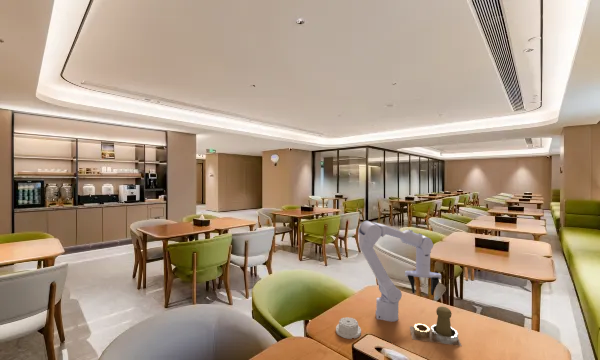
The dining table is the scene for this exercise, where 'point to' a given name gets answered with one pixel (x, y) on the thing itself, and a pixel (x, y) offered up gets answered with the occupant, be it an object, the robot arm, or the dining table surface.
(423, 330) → the narrow bronze ring
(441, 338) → the wide steel ring
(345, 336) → the mechanical component
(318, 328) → the dining table surface
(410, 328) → the smooth grayish brown board
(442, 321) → the olive bulbous peg
